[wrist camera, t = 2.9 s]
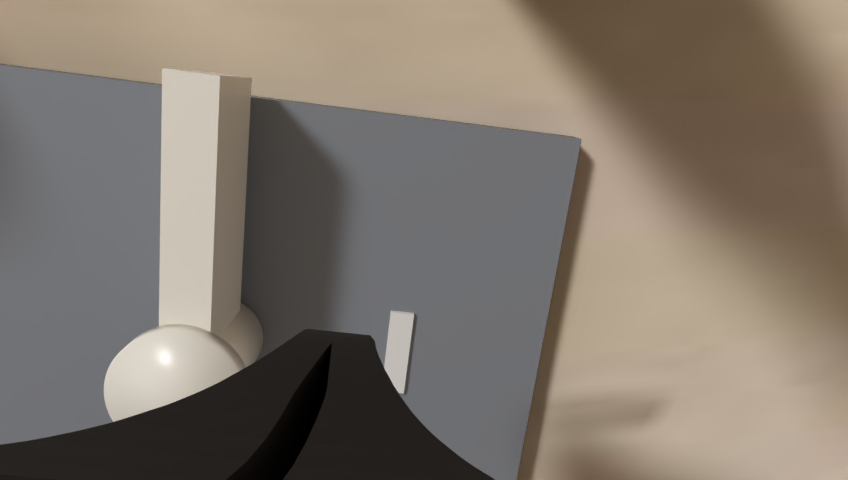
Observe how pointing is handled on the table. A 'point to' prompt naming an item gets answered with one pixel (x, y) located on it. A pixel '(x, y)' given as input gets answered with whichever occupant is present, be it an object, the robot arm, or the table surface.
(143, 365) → the peg
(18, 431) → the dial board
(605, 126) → the table surface
